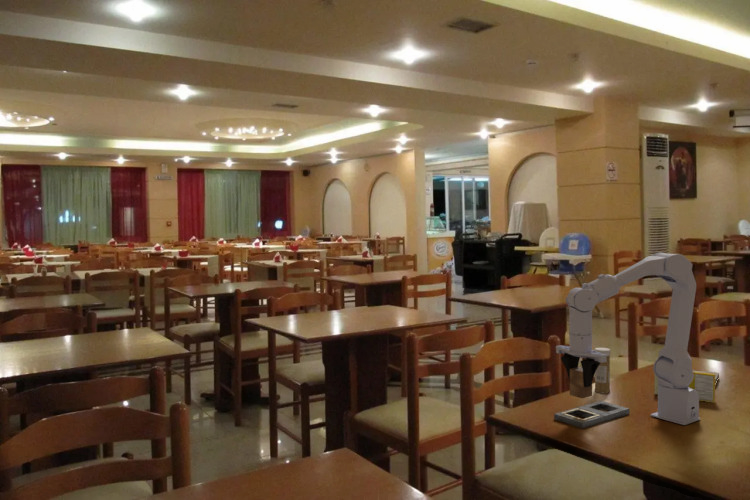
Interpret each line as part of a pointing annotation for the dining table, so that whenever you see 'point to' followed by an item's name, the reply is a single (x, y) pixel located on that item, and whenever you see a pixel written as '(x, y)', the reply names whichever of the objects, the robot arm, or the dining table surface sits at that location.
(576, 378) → the square peg block
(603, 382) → the sprinkles bottle
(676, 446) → the dining table surface
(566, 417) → the grey peg holder tray
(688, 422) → the robot arm
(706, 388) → the candy box
